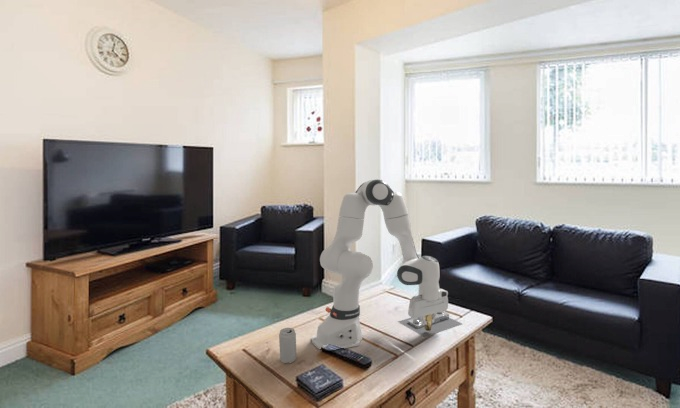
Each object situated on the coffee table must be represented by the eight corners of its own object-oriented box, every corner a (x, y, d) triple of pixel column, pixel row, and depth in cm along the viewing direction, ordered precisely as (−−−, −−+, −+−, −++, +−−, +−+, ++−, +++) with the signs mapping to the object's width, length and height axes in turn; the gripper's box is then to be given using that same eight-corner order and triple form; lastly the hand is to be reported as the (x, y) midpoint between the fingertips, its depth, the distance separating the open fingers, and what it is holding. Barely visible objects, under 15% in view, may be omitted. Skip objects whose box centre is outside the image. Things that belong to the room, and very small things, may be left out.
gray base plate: (424, 338, 156) (424, 337, 156) (397, 322, 172) (397, 321, 172) (462, 325, 168) (462, 324, 168) (434, 311, 184) (434, 310, 184)
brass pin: (427, 331, 158) (428, 313, 157) (423, 328, 161) (423, 311, 160) (432, 329, 159) (433, 312, 159) (428, 327, 162) (428, 310, 161)
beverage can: (291, 365, 137) (290, 335, 135) (276, 362, 139) (275, 333, 138) (299, 357, 142) (298, 328, 141) (285, 354, 145) (284, 325, 143)
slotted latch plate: (417, 328, 164) (417, 321, 164) (407, 322, 170) (407, 316, 170) (449, 318, 174) (449, 312, 174) (438, 313, 180) (438, 307, 180)
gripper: (415, 299, 151) (414, 331, 152) (450, 291, 160) (449, 321, 162) (405, 294, 156) (404, 325, 158) (440, 287, 166) (439, 316, 167)
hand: (428, 323), depth 160 cm, fingers closed on brass pin, 3 cm apart
